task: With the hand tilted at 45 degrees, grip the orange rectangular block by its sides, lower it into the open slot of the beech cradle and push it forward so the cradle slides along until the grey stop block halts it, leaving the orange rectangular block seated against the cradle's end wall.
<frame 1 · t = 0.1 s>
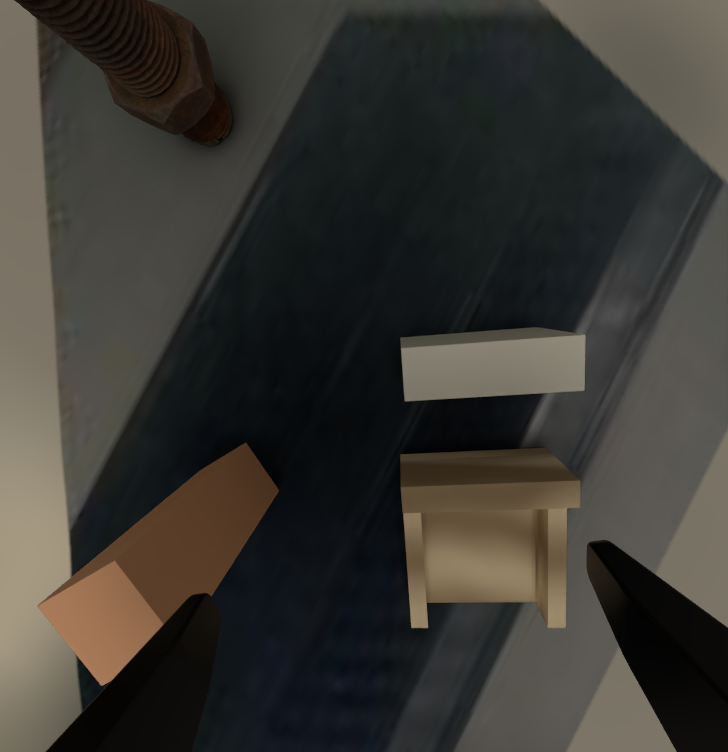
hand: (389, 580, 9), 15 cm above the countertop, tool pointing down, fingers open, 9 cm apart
bolt: (209, 120, 22), on the countertop
cradle: (481, 544, 23), point 2 cm above the countertop, slide at 0.0 cm
stop block: (467, 353, 23), on the countertop
orange rectangular block: (239, 480, 26), on the countertop
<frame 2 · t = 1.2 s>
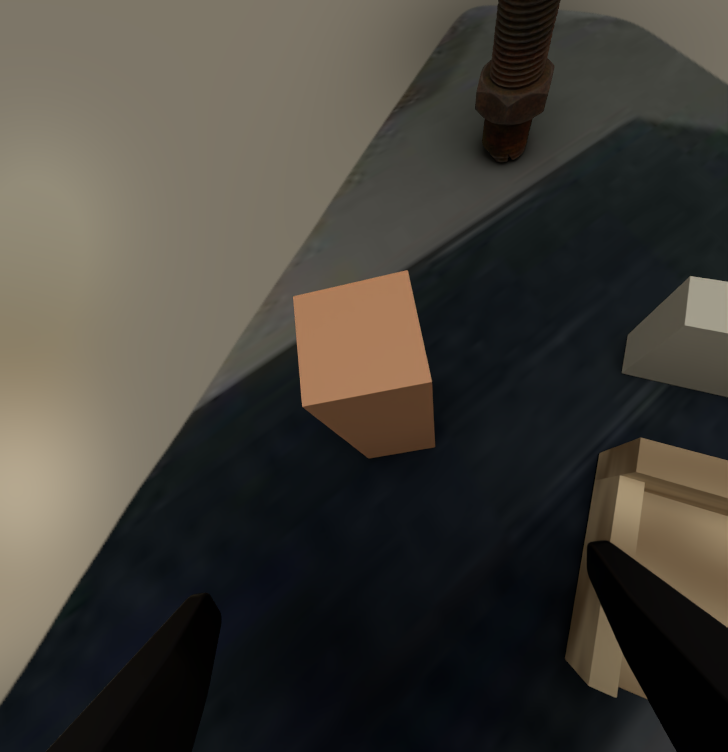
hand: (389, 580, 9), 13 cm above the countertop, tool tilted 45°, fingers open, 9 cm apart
bolt: (502, 151, 29), on the countertop
cradle: (720, 594, 16), point 2 cm above the countertop, slide at 0.0 cm
stop block: (705, 371, 21), on the countertop
orange rectangular block: (395, 420, 23), on the countertop
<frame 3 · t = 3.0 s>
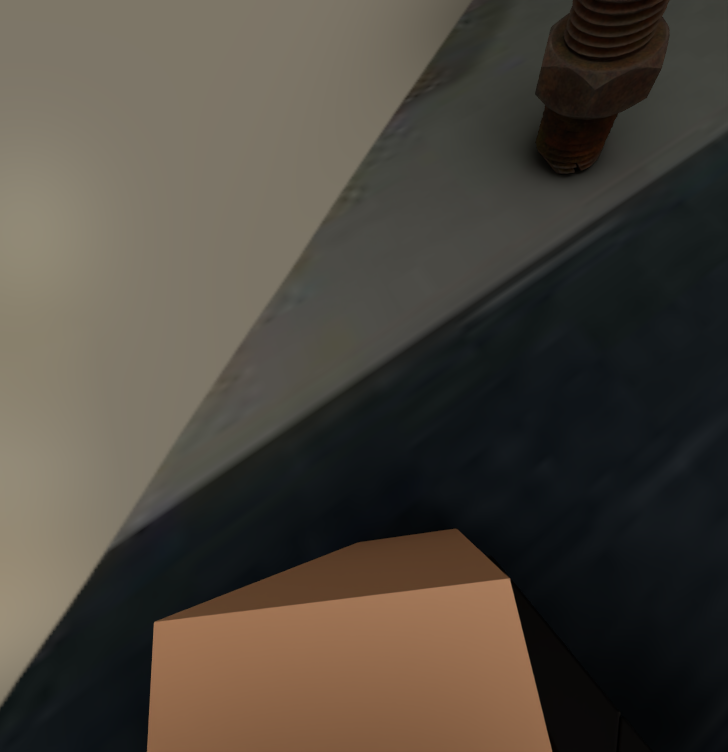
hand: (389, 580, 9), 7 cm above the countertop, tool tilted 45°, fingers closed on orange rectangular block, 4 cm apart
bolt: (563, 158, 20), on the countertop
orange rectangular block: (415, 591, 14), on the countertop, touching gripper
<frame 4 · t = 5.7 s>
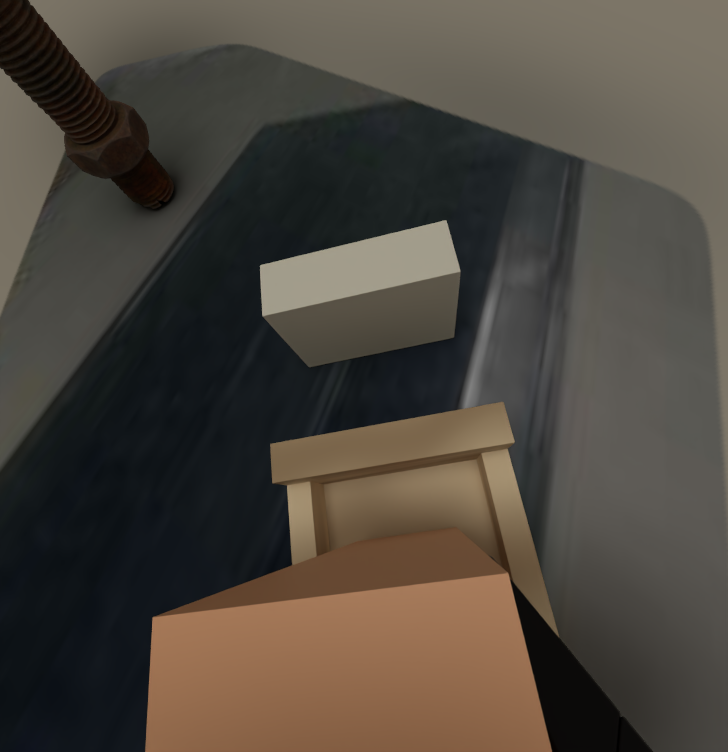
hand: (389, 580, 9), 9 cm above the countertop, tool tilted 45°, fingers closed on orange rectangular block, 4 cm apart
bolt: (159, 197, 28), on the countertop
cradle: (410, 560, 15), point 2 cm above the countertop, slide at 0.0 cm
stop block: (376, 332, 21), on the countertop
orange rectangular block: (415, 590, 14), point 2 cm above the countertop, touching gripper
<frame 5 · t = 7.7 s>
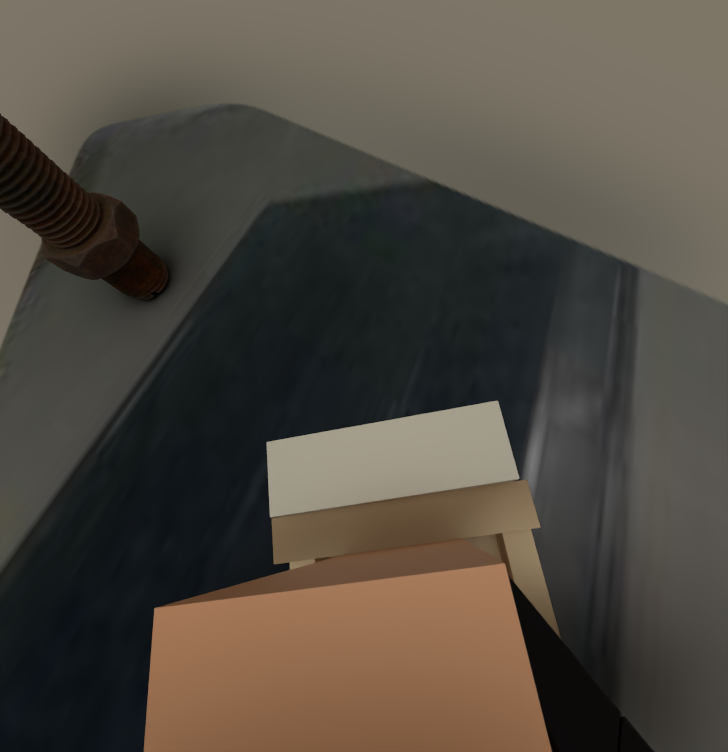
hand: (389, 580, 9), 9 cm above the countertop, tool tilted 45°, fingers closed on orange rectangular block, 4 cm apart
bolt: (152, 283, 25), on the countertop
cradle: (423, 647, 13), point 2 cm above the countertop, slide at 5.0 cm, touching orange rectangular block, stop block
stop block: (400, 475, 18), on the countertop
orange rectangular block: (417, 600, 14), point 2 cm above the countertop, touching cradle, gripper
when the fingers open (8 cm above the countertop, at t = 8.9 s): orange rectangular block stays where it is, resting on cradle.
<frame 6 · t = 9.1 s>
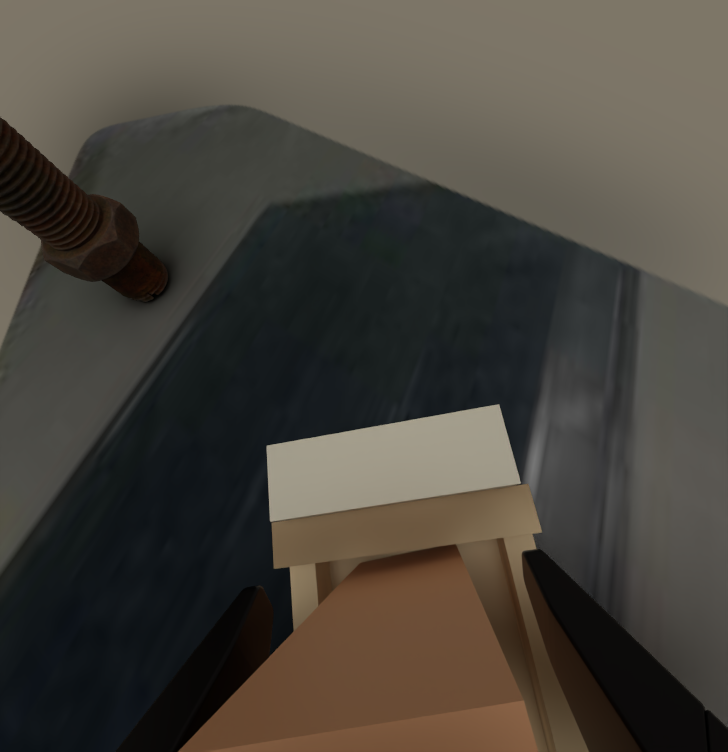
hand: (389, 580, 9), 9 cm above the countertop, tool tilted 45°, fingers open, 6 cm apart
bolt: (151, 285, 25), on the countertop
cradle: (424, 652, 13), point 2 cm above the countertop, slide at 4.9 cm, touching orange rectangular block
stop block: (400, 477, 18), on the countertop
orange rectangular block: (419, 607, 15), point 1 cm above the countertop, touching cradle
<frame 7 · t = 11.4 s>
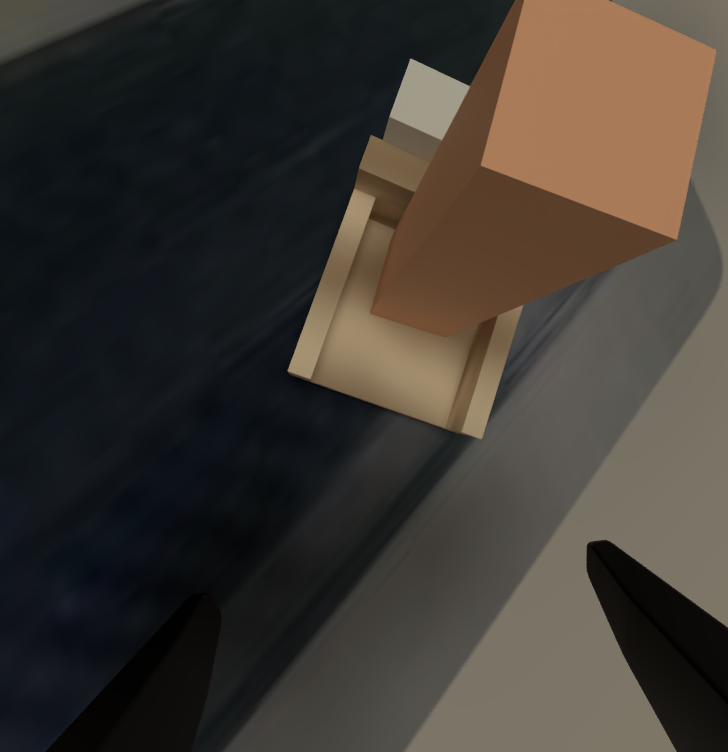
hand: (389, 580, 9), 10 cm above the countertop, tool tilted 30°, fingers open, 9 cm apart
cradle: (418, 303, 17), point 2 cm above the countertop, slide at 5.0 cm, touching orange rectangular block
stop block: (441, 207, 20), on the countertop
orange rectangular block: (418, 287, 19), point 1 cm above the countertop, touching cradle
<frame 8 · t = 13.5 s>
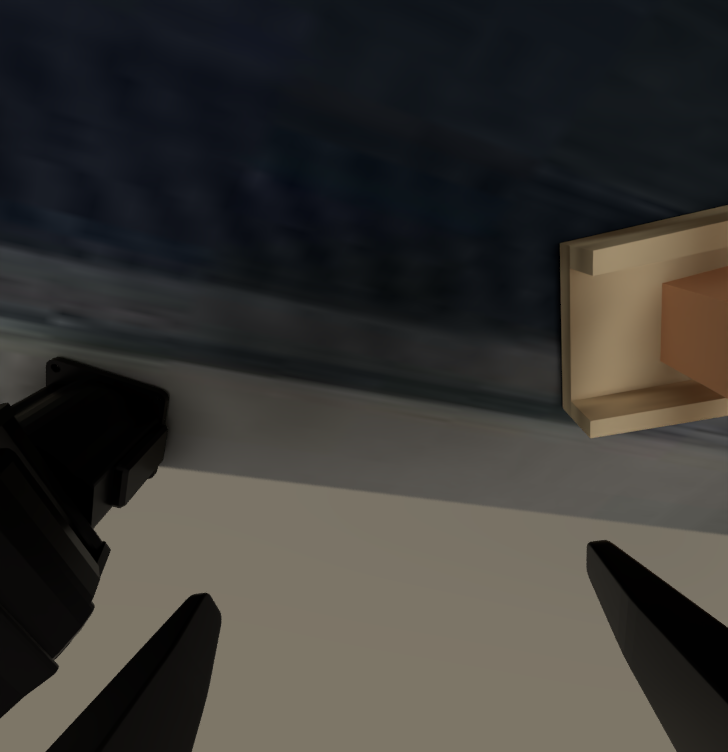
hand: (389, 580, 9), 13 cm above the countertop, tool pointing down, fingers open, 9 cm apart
cradle: (700, 325, 17), point 2 cm above the countertop, slide at 5.0 cm, touching orange rectangular block
orange rectangular block: (706, 312, 18), point 1 cm above the countertop, touching cradle
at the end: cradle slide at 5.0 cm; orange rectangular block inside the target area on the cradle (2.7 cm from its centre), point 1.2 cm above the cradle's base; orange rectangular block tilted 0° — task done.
